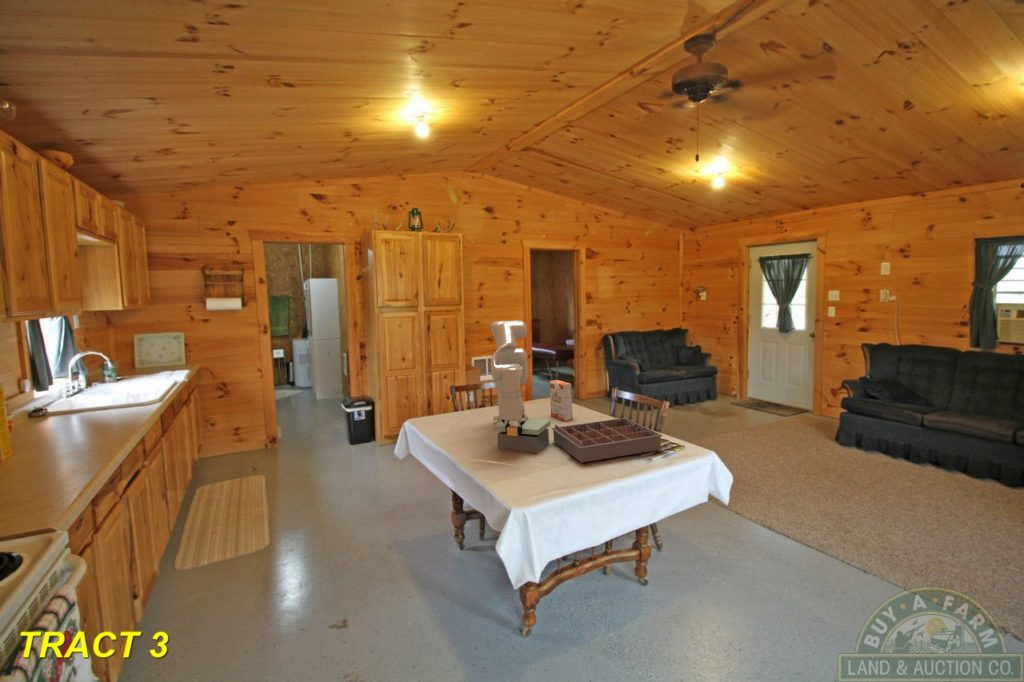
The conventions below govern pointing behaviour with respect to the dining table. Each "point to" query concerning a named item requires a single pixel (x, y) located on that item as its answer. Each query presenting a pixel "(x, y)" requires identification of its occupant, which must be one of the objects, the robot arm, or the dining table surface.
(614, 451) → the organizer tray
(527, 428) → the lid
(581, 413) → the dining table surface
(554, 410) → the cracker box
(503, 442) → the tub
